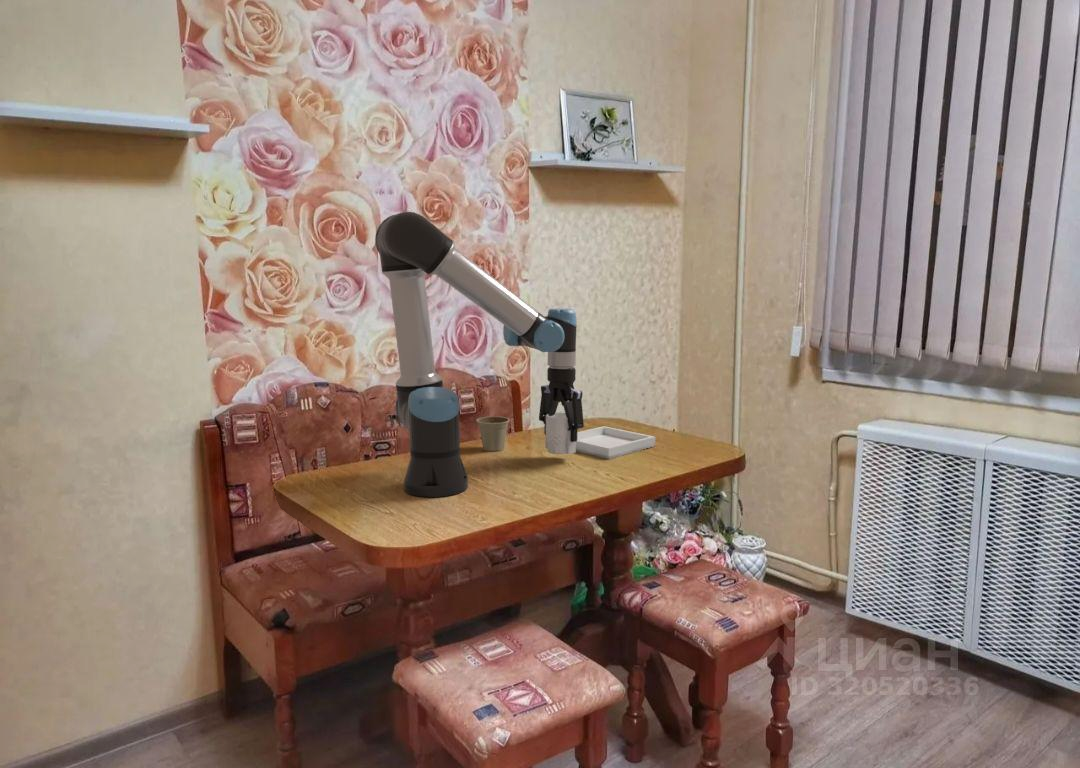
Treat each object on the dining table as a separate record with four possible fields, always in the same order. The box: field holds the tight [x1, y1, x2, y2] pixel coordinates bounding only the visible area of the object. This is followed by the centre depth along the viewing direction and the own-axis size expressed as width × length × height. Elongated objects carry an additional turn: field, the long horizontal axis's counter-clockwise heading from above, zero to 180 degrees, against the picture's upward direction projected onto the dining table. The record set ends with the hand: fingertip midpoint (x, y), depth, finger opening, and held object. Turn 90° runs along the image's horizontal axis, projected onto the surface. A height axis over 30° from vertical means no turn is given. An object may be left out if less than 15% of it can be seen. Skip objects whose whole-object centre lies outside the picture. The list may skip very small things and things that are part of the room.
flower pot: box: [476, 415, 511, 452], centre depth 214 cm, size 9×9×9 cm
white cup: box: [545, 412, 574, 455], centre depth 202 cm, size 8×8×10 cm
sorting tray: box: [576, 425, 656, 460], centre depth 216 cm, size 20×20×3 cm
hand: (560, 450), depth 202 cm, fingers closed on white cup, 7 cm apart
